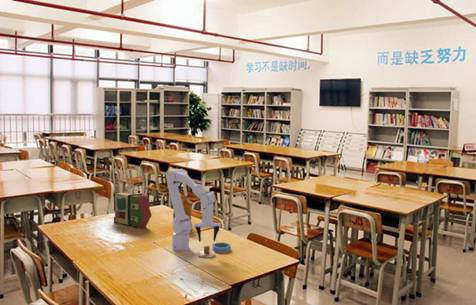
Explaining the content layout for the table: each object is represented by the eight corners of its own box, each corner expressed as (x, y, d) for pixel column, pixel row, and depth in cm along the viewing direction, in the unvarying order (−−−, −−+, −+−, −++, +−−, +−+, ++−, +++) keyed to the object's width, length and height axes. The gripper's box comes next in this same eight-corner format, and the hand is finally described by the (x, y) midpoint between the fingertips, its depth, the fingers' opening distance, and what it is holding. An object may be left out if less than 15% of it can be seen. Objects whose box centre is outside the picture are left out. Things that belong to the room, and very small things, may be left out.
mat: (199, 258, 226) (199, 258, 226) (197, 253, 235) (197, 252, 235) (216, 258, 228) (216, 257, 227) (213, 252, 236) (213, 251, 236)
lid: (199, 258, 226) (199, 249, 225) (197, 252, 235) (197, 244, 234) (216, 257, 227) (216, 249, 227) (214, 251, 236) (214, 243, 236)
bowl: (213, 253, 235) (213, 248, 234) (211, 247, 244) (211, 242, 244) (231, 253, 236) (231, 247, 236) (228, 247, 246) (228, 242, 245)
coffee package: (184, 224, 292) (185, 191, 290) (192, 228, 281) (193, 195, 279) (170, 225, 287) (171, 192, 284) (178, 230, 276) (179, 196, 274)
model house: (109, 192, 287) (141, 197, 270) (120, 190, 294) (151, 195, 277) (110, 223, 288) (141, 231, 271) (120, 221, 296) (151, 228, 279)
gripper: (194, 217, 224) (194, 243, 225) (222, 217, 226) (221, 242, 228) (193, 214, 231) (192, 239, 232) (220, 214, 233) (219, 238, 235)
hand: (207, 240), depth 230 cm, fingers open, 7 cm apart
